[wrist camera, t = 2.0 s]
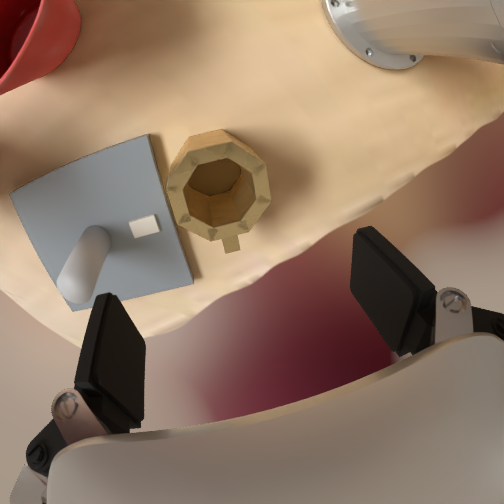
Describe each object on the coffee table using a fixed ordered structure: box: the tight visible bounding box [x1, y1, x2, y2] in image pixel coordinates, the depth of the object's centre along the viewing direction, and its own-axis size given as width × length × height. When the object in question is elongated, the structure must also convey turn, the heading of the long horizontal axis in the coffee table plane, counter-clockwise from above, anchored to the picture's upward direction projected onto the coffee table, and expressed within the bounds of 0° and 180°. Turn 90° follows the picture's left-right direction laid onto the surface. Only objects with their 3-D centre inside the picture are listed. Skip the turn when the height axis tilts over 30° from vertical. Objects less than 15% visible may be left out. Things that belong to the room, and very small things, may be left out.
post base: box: [10, 134, 194, 312], centre depth 20 cm, size 15×15×8 cm
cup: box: [166, 129, 271, 253], centre depth 21 cm, size 9×7×6 cm
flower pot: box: [0, 0, 81, 95], centre depth 8 cm, size 11×11×10 cm
